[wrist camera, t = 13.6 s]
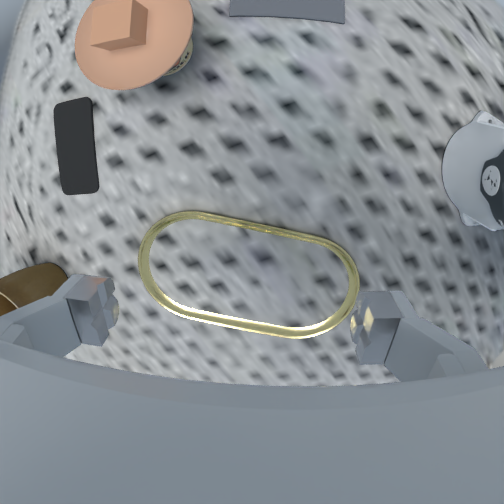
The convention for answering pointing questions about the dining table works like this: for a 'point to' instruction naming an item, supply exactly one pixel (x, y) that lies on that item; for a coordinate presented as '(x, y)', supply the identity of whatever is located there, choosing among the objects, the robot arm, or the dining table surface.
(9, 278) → the plant pot
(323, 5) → the mat
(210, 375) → the dining table surface
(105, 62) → the lid
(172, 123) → the dining table surface
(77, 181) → the phone
